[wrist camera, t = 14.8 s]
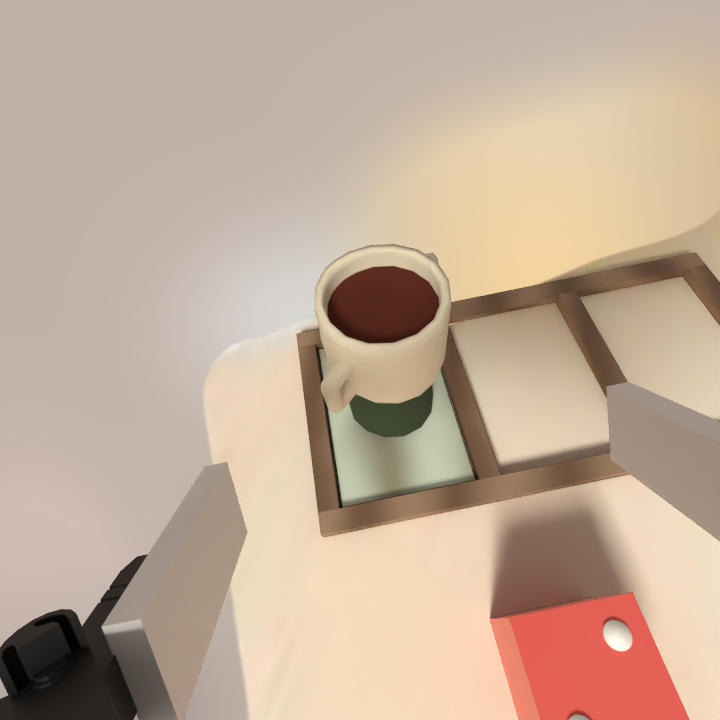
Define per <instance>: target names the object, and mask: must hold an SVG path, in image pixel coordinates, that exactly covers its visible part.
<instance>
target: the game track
mask: <svg viewBox="0 0 720 720" xmlns="http://www.w3.org/2000/svg"><path fill="white" fill-rule="evenodd" d="M680 276H683V277H684V279H685V280H686V281H687V283H688V284H689V285H690V286H691V288H692V289H693V290H694V292H695V293H696V294H697V296H698V297H699V298H700V300H701V301H702V302H703V304H704V305H705V306H706V308H707V309H708V310H709V311H710V313H711V314H712V315H713V317H714V318H715V319H716V321H717V322H718V323H719V325H720V282H719V281H718V279H717V278H716V277H715V276H714V274H713V273H712V272H711V271H710V270H709V268H708V267H707V266H706V265H705V263H704V262H703V261H702V260H701V258H700V257H699V256H698V255H697V253H691V254H686V255H681V256H676V257H671V258H666V259H661V260H656V261H651V262H647V263H642V264H637V265H632V266H627V267H622V268H617V269H612V270H607V271H602V272H598V273H593V274H588V275H583V276H578V277H573V278H568V279H563V280H558V281H553V282H548V283H544V284H539V285H534V286H529V287H524V288H519V289H515V290H509V291H505V292H499V293H495V294H490V295H485V296H480V297H475V298H470V299H465V300H460V301H455V302H451V311H450V319H449V324H450V323H455V322H459V321H464V320H469V319H474V318H479V317H484V316H489V315H494V314H499V313H504V312H508V311H513V310H518V309H523V308H528V307H533V306H538V305H543V304H548V303H552V302H556V303H557V305H558V307H559V309H560V311H561V313H562V315H563V317H564V319H565V320H566V322H567V324H568V326H569V328H570V330H571V332H572V334H573V335H574V337H575V339H576V341H577V343H578V345H579V347H580V349H581V351H582V352H583V354H584V356H585V358H586V360H587V362H588V364H589V366H590V367H591V369H592V371H593V373H594V375H595V377H596V379H597V381H598V383H599V384H600V386H601V388H602V390H603V392H604V394H605V396H606V398H607V390H606V386H611V385H616V384H621V383H626V382H627V380H626V378H625V376H624V375H623V373H622V371H621V369H620V368H619V366H618V364H617V362H616V361H615V359H614V357H613V355H612V354H611V352H610V350H609V348H608V347H607V345H606V343H605V341H604V340H603V338H602V336H601V334H600V333H599V331H598V329H597V327H596V326H595V324H594V322H593V320H592V319H591V317H590V315H589V313H588V312H587V310H586V308H585V306H584V305H583V303H582V301H581V299H580V298H579V297H582V296H587V295H592V294H597V293H601V292H606V291H611V290H616V289H621V288H626V287H631V286H636V285H641V284H646V283H650V282H655V281H660V280H665V279H670V278H675V277H680ZM297 342H298V350H299V358H300V367H301V375H302V383H303V391H304V400H305V408H306V416H307V424H308V433H309V441H310V449H311V457H312V466H313V474H314V482H315V490H316V499H317V507H318V515H319V523H320V532H321V535H322V536H323V537H328V536H333V535H337V534H342V533H347V532H352V531H357V530H362V529H367V528H371V527H376V526H381V525H386V524H391V523H396V522H401V521H405V520H410V519H415V518H420V517H425V516H430V515H434V514H439V513H444V512H449V511H454V510H459V509H464V508H468V507H473V506H478V505H483V504H488V503H493V502H497V501H502V500H507V499H512V498H517V497H522V496H527V495H531V494H536V493H541V492H546V491H551V490H556V489H561V488H565V487H570V486H575V485H580V484H585V483H590V482H594V481H599V480H604V479H609V478H614V477H619V476H624V475H628V474H629V473H628V472H627V471H625V470H624V469H623V468H621V467H620V466H619V465H617V464H616V463H615V462H613V461H612V460H611V453H606V454H601V455H596V456H592V457H587V458H582V459H577V460H572V461H567V462H562V463H558V464H553V465H548V466H543V467H538V468H533V469H528V470H524V471H519V472H514V473H509V474H504V475H500V472H499V469H498V466H497V463H496V460H495V457H494V455H493V452H492V449H491V446H490V443H489V440H488V437H487V435H486V432H485V429H484V426H483V423H482V420H481V417H480V415H479V412H478V409H477V406H476V403H475V400H474V398H473V395H472V392H471V389H470V386H469V383H468V380H467V378H466V375H465V372H464V369H463V366H462V363H461V360H460V358H459V355H458V352H457V349H456V346H455V343H454V341H453V338H452V335H451V332H450V329H449V327H448V335H447V343H446V351H445V359H444V361H443V364H442V366H441V369H442V372H443V375H444V378H445V381H446V384H447V387H448V391H449V394H450V397H451V400H452V403H453V406H454V409H455V412H456V416H457V419H458V422H459V425H460V428H461V431H462V434H463V437H464V441H465V444H466V447H467V450H468V453H469V456H470V459H471V462H472V466H473V469H474V472H475V475H476V478H477V480H475V477H474V474H473V471H472V468H471V465H470V462H469V459H468V455H467V452H466V449H465V446H464V443H463V440H462V437H461V433H460V430H459V427H458V424H457V421H456V418H455V415H454V411H453V408H452V405H451V402H450V399H449V396H448V392H447V389H446V386H445V383H444V380H443V377H442V374H441V370H440V371H439V374H438V377H437V379H436V382H435V383H433V384H432V388H433V401H432V411H431V414H430V415H429V417H428V418H427V420H426V421H425V423H424V424H423V426H422V427H421V428H419V429H417V430H415V431H413V432H412V433H410V434H408V435H406V436H400V437H382V436H379V435H377V434H374V433H371V432H368V431H366V430H365V429H364V428H363V427H362V426H361V425H360V424H359V423H357V422H356V421H355V420H354V418H353V414H352V411H351V408H350V404H348V405H347V406H346V407H345V408H344V409H343V410H342V411H341V412H340V413H334V412H331V411H330V410H329V408H328V414H329V420H330V427H331V434H332V440H333V447H334V453H335V460H336V467H337V473H338V480H339V487H340V493H341V500H342V506H343V508H340V502H339V495H338V489H337V482H336V475H335V468H334V462H333V455H332V448H331V441H330V435H329V428H328V421H327V414H326V408H325V401H324V397H323V394H322V392H321V382H322V381H321V374H320V367H319V360H318V354H317V350H319V354H320V361H321V367H322V374H323V379H324V378H325V376H326V375H327V373H328V372H329V371H330V370H331V368H330V365H329V363H328V361H327V356H326V352H325V349H324V347H323V344H322V342H321V336H320V330H319V329H318V330H313V331H308V332H303V333H298V334H297ZM327 407H328V406H327Z"/></svg>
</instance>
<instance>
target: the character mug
mask: <svg viewBox="0 0 720 720" xmlns="http://www.w3.org/2000/svg"><path fill="white" fill-rule="evenodd" d="M450 311H451V297H450V288H449V280H448V278H447V277H446V275H445V274H444V272H443V271H442V269H441V268H440V266H439V265H438V259H437V257H436V256H435V255H434V254H433V253H430V254H426V255H425V254H424V253H422V252H421V251H419V250H417V249H413V248H408V247H404V246H399V245H395V244H390V245H389V244H388V245H370V246H366V247H363V248H359V249H356V250H353V251H350V252H348V253H346V254H344V255H343V256H341V257H339V258H338V259H336V260H334V261H333V263H331V264H330V265H329V266H328V267H327V268H326V269H325V270H324V272H323V273H322V274H321V276H320V278H319V281H318V283H317V285H316V287H315V314H316V317H317V321H318V324H319V330H320V336H321V342H322V344H323V347H324V349H325V352H326V356H327V361H328V363H329V365H330V368H331V370H330V371H329V372H328V373H327V375H326V376H325V378H324V379H323V381H322V382H321V392H322V394H323V397H324V399H325V402H326V405H327V406H328V408H329V410H330V411H331V412H334V413H340V412H341V411H342V410H343V409H344V408H345V407H346V406H347V405H348V404H350V408H351V411H352V414H353V418H354V420H355V421H356V422H357V423H359V424H360V425H361V426H362V427H363V428H364V429H365V430H366V431H368V432H371V433H374V434H377V435H379V436H382V437H400V436H406V435H408V434H410V433H412V432H413V431H415V430H417V429H419V428H421V427H422V426H423V424H424V423H425V421H426V420H427V418H428V417H429V415H430V414H431V411H432V401H433V388H432V384H433V383H435V382H436V379H437V377H438V374H439V371H440V369H441V366H442V364H443V361H444V359H445V351H446V343H447V335H448V327H449V319H450Z"/></svg>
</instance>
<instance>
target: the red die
mask: <svg viewBox="0 0 720 720" xmlns="http://www.w3.org/2000/svg"><path fill="white" fill-rule="evenodd" d="M490 621H491V625H492V628H493V632H494V635H495V639H496V642H497V646H498V649H499V653H500V656H501V660H502V663H503V667H504V670H505V673H506V677H507V680H508V684H509V687H510V691H511V694H512V698H513V701H514V705H515V708H516V712H517V715H518V719H519V720H689V718H688V715H687V713H686V711H685V709H684V706H683V704H682V702H681V700H680V697H679V695H678V693H677V691H676V689H675V686H674V684H673V682H672V680H671V677H670V675H669V673H668V671H667V668H666V666H665V664H664V662H663V660H662V657H661V655H660V653H659V651H658V648H657V646H656V644H655V642H654V639H653V637H652V635H651V633H650V631H649V628H648V626H647V624H646V622H645V619H644V617H643V615H642V613H641V610H640V608H639V606H638V604H637V601H636V599H635V597H634V595H633V593H632V592H631V593H624V594H617V595H610V596H603V597H596V598H589V599H584V600H579V601H575V602H570V603H565V604H560V605H555V606H550V607H546V608H541V609H536V610H531V611H526V612H522V613H517V614H512V615H507V616H502V617H497V618H493V619H490Z"/></svg>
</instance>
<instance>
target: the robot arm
mask: <svg viewBox="0 0 720 720" xmlns="http://www.w3.org/2000/svg"><path fill="white" fill-rule="evenodd" d="M606 390H607V406H608V421H609V437H610V453H611V460H612V461H613V462H615V463H616V464H617V465H619V466H620V467H621V468H623V469H624V470H625V471H627V472H628V473H629V474H631V475H632V476H633V477H635V478H636V479H637V480H639V481H640V482H641V483H643V484H644V485H645V486H647V487H648V488H649V489H651V490H652V491H653V492H655V493H656V494H657V495H659V496H660V497H661V498H663V499H664V500H665V501H667V502H668V503H669V504H671V505H672V506H673V507H675V508H676V509H677V510H679V511H680V512H681V513H683V514H684V515H685V516H687V517H688V518H689V519H691V520H692V521H693V522H695V523H696V524H697V525H699V526H700V527H701V528H703V529H704V530H705V531H707V532H708V533H709V534H711V535H712V536H713V537H715V538H716V539H717V540H719V541H720V422H719V421H717V420H715V419H712V418H710V417H708V416H705V415H703V414H701V413H698V412H696V411H694V410H692V409H689V408H687V407H685V406H682V405H680V404H678V403H675V402H673V401H671V400H668V399H666V398H664V397H662V396H659V395H657V394H655V393H652V392H650V391H648V390H645V389H643V388H641V387H639V386H636V385H634V384H632V383H629V382H626V383H621V384H616V385H611V386H606ZM246 534H247V529H246V526H245V522H244V519H243V515H242V512H241V509H240V505H239V502H238V498H237V495H236V491H235V488H234V484H233V481H232V478H231V474H230V471H229V467H228V464H227V462H225V463H220V464H215V465H210V466H205V467H204V469H203V470H202V472H201V473H200V475H199V476H198V478H197V479H196V481H195V483H194V484H193V486H192V487H191V489H190V491H189V492H188V493H187V495H186V497H185V498H184V500H183V501H182V503H181V504H180V506H179V507H178V509H177V510H176V512H175V514H174V515H173V517H172V518H171V520H170V522H169V523H168V524H167V526H166V527H165V529H164V531H163V532H162V534H161V535H160V537H159V538H158V540H157V541H156V543H155V545H154V546H153V548H152V549H151V551H150V552H149V554H148V555H143V556H138V557H136V558H135V559H134V560H133V561H132V562H131V563H130V564H128V565H127V566H126V567H125V568H124V569H123V570H122V571H120V573H119V574H118V576H117V577H116V579H115V580H114V581H113V583H112V584H111V586H110V590H107V591H106V593H105V594H104V596H103V597H102V599H101V602H100V603H98V604H97V606H96V607H95V609H94V610H93V612H92V613H91V614H90V616H89V617H88V619H87V620H86V622H85V623H84V624H83V626H81V624H80V621H79V619H78V616H77V614H76V613H75V612H74V611H72V610H65V609H61V610H57V611H53V612H50V613H47V614H45V615H43V616H41V617H38V618H36V619H34V620H32V621H31V622H29V623H28V624H26V625H25V626H23V627H22V628H20V629H19V630H17V631H16V632H15V633H14V634H13V635H12V636H10V637H9V638H8V639H7V640H6V641H5V642H4V643H3V645H2V646H1V647H0V678H1V680H2V682H3V685H4V687H5V689H6V691H7V693H8V696H6V697H4V698H1V699H0V720H133V719H134V717H135V715H136V714H137V716H138V719H139V720H184V718H185V715H186V712H187V709H188V706H189V703H190V700H191V697H192V694H193V691H194V689H195V685H196V683H197V680H198V677H199V674H200V671H201V668H202V665H203V662H204V659H205V656H206V653H207V650H208V647H209V644H210V641H211V638H212V635H213V632H214V629H215V626H216V623H217V620H218V617H219V614H220V611H221V608H222V605H223V603H224V600H225V597H226V594H227V591H228V588H229V585H230V582H231V579H232V576H233V573H234V570H235V567H236V564H237V561H238V558H239V555H240V552H241V549H242V546H243V543H244V540H245V537H246Z"/></svg>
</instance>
